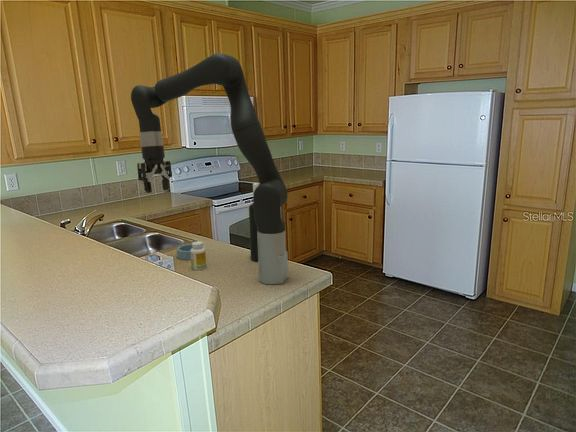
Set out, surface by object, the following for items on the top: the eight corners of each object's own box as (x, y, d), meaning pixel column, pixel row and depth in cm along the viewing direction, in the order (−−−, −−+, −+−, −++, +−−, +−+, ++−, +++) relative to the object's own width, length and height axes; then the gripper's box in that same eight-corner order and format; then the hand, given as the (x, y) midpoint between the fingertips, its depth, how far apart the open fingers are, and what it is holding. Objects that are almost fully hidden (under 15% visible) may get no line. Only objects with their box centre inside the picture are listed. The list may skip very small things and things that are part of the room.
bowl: (207, 253, 163) (206, 245, 162) (195, 261, 153) (194, 252, 152) (185, 251, 165) (185, 243, 165) (172, 259, 156) (171, 250, 155)
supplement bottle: (208, 265, 148) (207, 241, 146) (202, 270, 143) (200, 245, 141) (196, 264, 149) (194, 240, 147) (189, 269, 144) (187, 244, 142)
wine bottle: (267, 257, 156) (265, 182, 149) (263, 262, 151) (260, 184, 144) (253, 256, 158) (250, 181, 151) (248, 261, 152) (245, 183, 145)
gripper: (145, 145, 131) (151, 193, 134) (174, 144, 144) (179, 188, 146) (128, 146, 134) (134, 193, 137) (158, 145, 147) (163, 189, 150)
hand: (157, 191), depth 142 cm, fingers open, 8 cm apart
